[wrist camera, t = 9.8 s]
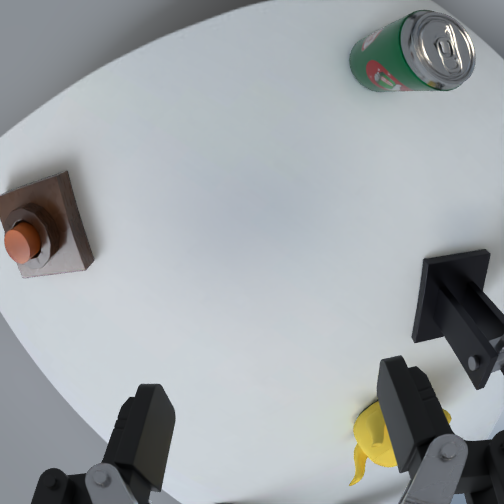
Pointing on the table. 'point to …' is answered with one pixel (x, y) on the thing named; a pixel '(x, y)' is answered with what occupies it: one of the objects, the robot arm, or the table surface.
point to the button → (22, 242)
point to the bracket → (460, 311)
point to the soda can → (414, 55)
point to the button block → (49, 225)
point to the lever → (500, 344)
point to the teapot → (373, 441)
